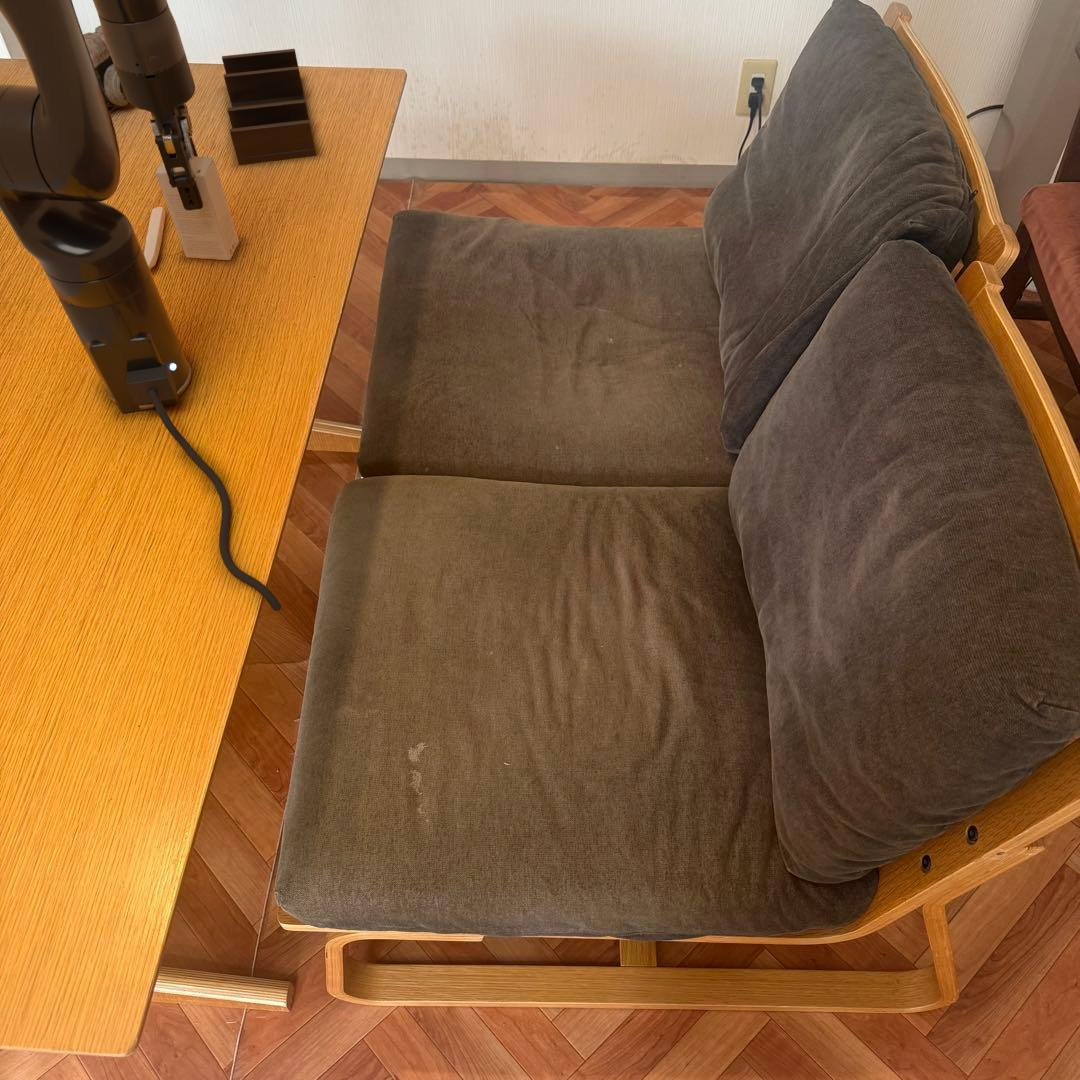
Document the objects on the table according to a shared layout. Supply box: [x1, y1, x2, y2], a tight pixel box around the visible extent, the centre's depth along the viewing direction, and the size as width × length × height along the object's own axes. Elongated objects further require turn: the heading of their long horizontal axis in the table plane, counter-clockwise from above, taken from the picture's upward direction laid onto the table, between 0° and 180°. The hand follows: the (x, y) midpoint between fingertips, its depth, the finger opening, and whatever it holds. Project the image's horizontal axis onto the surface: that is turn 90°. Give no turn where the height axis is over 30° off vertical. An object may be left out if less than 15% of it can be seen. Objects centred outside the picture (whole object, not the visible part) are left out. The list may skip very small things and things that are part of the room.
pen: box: [143, 206, 166, 270], centre depth 116 cm, size 2×14×2 cm, turn 8°
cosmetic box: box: [154, 156, 240, 261], centre depth 111 cm, size 6×4×12 cm
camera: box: [83, 25, 130, 113], centre depth 132 cm, size 15×7×10 cm, turn 162°
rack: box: [221, 48, 317, 166], centre depth 133 cm, size 22×11×5 cm, turn 15°
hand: (193, 187), depth 109 cm, fingers open, 8 cm apart
